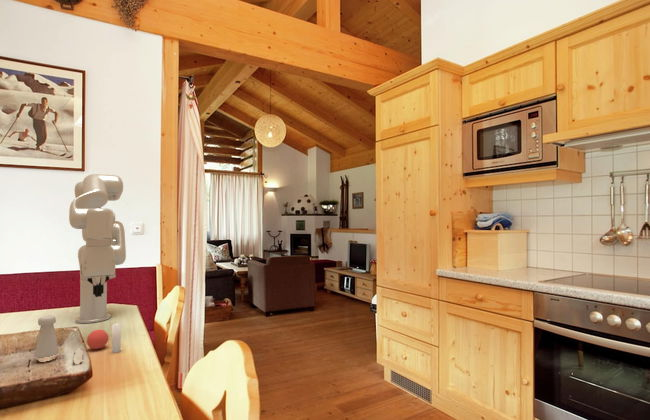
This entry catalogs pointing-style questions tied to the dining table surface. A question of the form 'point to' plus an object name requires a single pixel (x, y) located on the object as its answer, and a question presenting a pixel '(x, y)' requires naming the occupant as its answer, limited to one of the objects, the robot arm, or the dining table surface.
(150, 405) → the dining table surface
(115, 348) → the pin
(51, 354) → the salt shaker
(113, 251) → the robot arm
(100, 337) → the ball
